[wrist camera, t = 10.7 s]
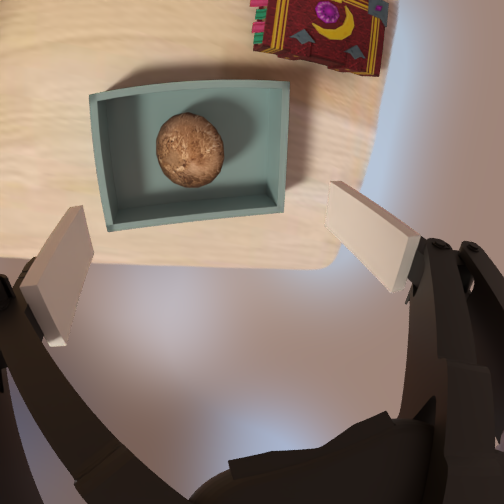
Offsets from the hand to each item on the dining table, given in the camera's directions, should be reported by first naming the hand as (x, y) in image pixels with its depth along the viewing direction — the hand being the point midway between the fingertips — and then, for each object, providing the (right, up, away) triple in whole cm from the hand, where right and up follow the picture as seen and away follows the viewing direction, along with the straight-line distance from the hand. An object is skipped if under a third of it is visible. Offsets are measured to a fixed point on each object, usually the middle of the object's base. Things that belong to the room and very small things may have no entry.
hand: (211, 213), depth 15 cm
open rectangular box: (-5, +10, +17) cm, 20 cm away
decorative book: (+9, +26, +12) cm, 30 cm away
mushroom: (-5, +10, +16) cm, 20 cm away
